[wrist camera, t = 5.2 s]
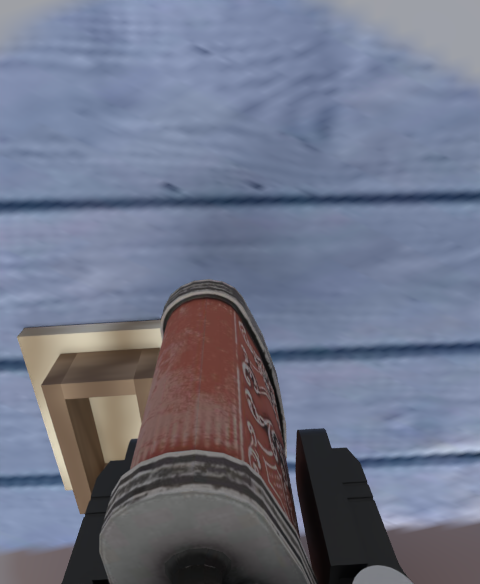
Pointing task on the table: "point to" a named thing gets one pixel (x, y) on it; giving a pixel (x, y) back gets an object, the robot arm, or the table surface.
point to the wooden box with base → (91, 392)
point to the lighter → (207, 458)
